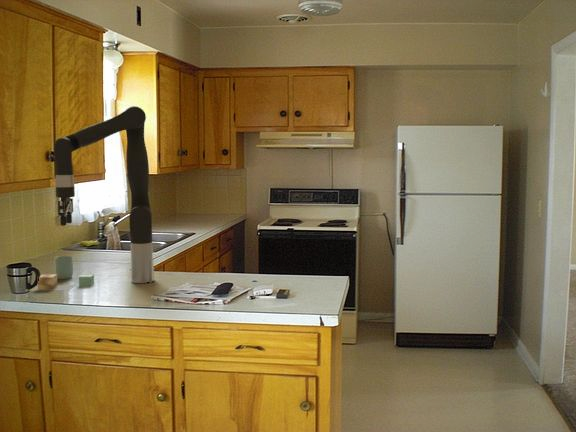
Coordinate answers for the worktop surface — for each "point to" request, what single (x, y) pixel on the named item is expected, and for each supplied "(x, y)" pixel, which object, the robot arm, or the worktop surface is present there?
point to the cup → (64, 267)
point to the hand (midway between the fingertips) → (66, 224)
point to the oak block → (47, 281)
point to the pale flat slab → (59, 287)
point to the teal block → (86, 280)
